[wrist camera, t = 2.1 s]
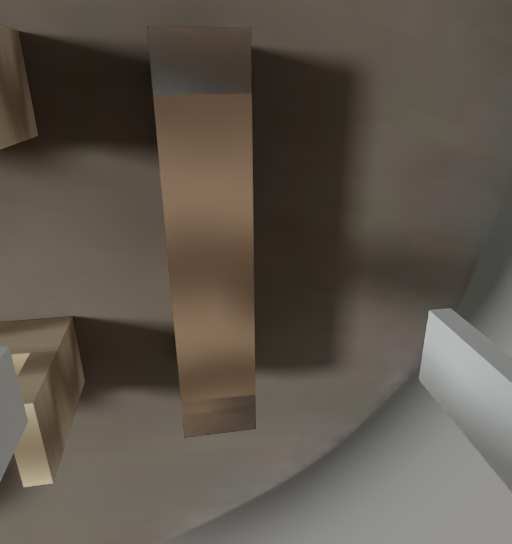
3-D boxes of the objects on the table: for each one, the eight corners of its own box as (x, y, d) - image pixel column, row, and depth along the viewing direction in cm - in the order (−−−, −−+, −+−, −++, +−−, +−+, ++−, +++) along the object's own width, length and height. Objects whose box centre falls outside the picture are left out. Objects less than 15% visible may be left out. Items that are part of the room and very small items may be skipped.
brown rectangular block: (155, 42, 23) (146, 26, 17) (231, 43, 24) (251, 27, 18) (182, 365, 31) (184, 437, 25) (240, 359, 32) (255, 428, 25)
